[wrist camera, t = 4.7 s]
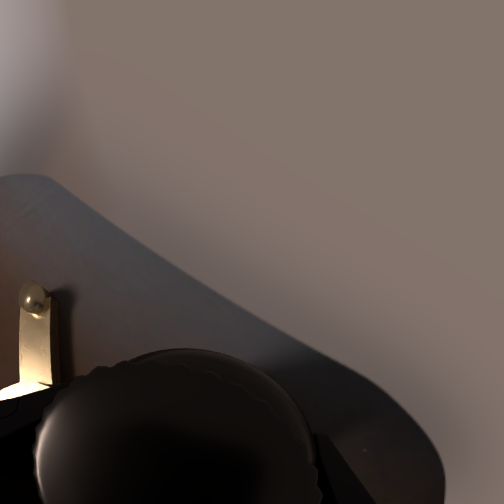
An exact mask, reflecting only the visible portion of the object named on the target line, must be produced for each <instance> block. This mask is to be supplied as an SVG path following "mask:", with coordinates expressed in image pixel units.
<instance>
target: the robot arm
mask: <svg viewBox="0 0 504 504" xmlns="http://www.w3.org/2000/svg"><path fill="white" fill-rule="evenodd" d="M70 383H71V381H69V382H66V383H63V384H59V385H56V386H53V387H49V388H46V389H42V390H39V391H35V392H32V393H28V394H25V395H21V397H20V396H17V397H13V398H9V399H4V400H0V504H42V502H41V501H40V499H39V498H38V496H37V492H36V483H35V480H34V478H33V475H32V472H31V470H32V466H33V459H32V455H31V447H32V445H33V444H34V442H35V427H36V426H37V424H39V423H40V422H41V419H42V413H43V409H44V408H45V407H46V406H47V405H49V404H51V403H52V402H53V400H54V397H55V395H56V393H57V391H59V390H61V389H65V388H67V387H68V386H69V384H70ZM313 438H314V441H315V446H316V452H317V469H318V480H317V486H318V487H319V489H320V490H321V492H322V494H323V497H322V500H321V503H320V504H377V503H376V502H375V501H374V499H373V498H372V497H371V495H370V494H369V493H368V491H367V490H366V489H365V487H364V486H363V485H362V483H361V482H360V481H359V479H358V478H357V476H356V475H355V474H354V472H353V471H352V470H351V468H350V467H349V465H348V464H347V463H346V461H345V460H344V458H343V457H342V456H341V454H340V453H339V451H338V450H337V448H336V447H335V446H334V444H333V443H332V441H331V440H330V438H329V437H328V436H327V435H326V434H319V433H315V434H314V435H313Z"/></svg>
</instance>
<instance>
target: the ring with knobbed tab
mask: <svg viewBox="0 0 504 504" xmlns="http://www.w3.org/2000/svg"><path fill="white" fill-rule="evenodd" d="M19 304H20V306H21V312H20V331H19V365H20V383H17V384H15V385H12V386H9V387H7V388H4V389H2V391H0V400H4V399H9V398H13V397H17V396H20V397H21V395H25V394H28V393H32V392H35V391H39V390H42V389H46V388H49V387H53V386H56V385H59V384H61V373H60V358H59V303H58V302H56V301H55V300H54V297H53V296H52V295H51V294H50V293H49V292H48V291H47V290H46V289H44V288H43V287H42V286H41V285H40V284H39V283H38V282H36V281H29V282H27V283H26V284H25V285H24V286H23V287H22V289H21V291H20V294H19Z"/></svg>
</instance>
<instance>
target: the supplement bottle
mask: <svg viewBox="0 0 504 504" xmlns="http://www.w3.org/2000/svg"><path fill="white" fill-rule="evenodd" d="M31 455H32V459H33V466H32V470H31V472H32V475H33V478H34V480H35V483H36V492H37V496H38V498H39V499H40V501H41V502H42V504H320V503H321V500H322V497H323V494H322V492H321V490H320V489H319V487H318V486H317V480H318V469H317V452H316V446H315V441H314V438H313V434H312V431H311V429H310V426H309V424H308V422H307V420H306V418H305V416H304V414H303V412H302V411H301V409H300V408H299V406H298V405H297V403H296V402H295V401H294V399H293V398H292V397H291V396H290V395H289V394H288V393H287V391H286V390H285V389H284V388H283V387H282V386H280V385H279V384H278V383H277V382H276V381H275V380H274V379H272V378H271V377H270V376H268V375H267V374H265V373H264V372H262V371H261V370H259V369H257V368H256V367H254V366H252V365H250V364H248V363H246V362H244V361H242V360H239V359H237V358H234V357H232V356H229V355H225V354H222V353H218V352H214V351H209V350H202V349H191V348H176V349H166V350H159V351H155V352H150V353H147V354H144V355H141V356H138V357H136V358H133V359H131V360H129V361H126V360H124V361H121V362H119V363H117V364H116V365H115V366H113V367H111V368H110V367H106V366H97V367H96V368H95V369H93V370H92V371H91V372H90V373H89V374H88V375H86V376H84V375H81V376H76V377H75V378H74V379H73V380H72V381H71V383H70V384H69V386H68V387H67V388H65V389H61V390H59V391H57V393H56V395H55V397H54V400H53V402H52V403H51V404H49V405H47V406H46V407H45V408H44V409H43V413H42V419H41V422H40V423H39V424H37V426H36V427H35V442H34V444H33V445H32V447H31Z"/></svg>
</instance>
